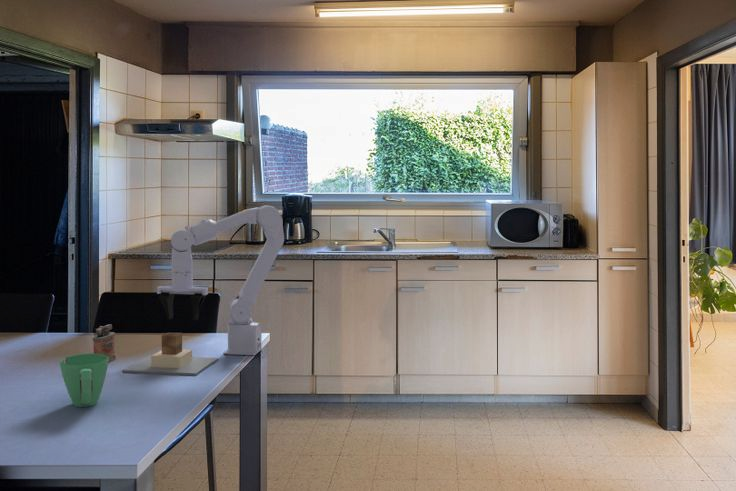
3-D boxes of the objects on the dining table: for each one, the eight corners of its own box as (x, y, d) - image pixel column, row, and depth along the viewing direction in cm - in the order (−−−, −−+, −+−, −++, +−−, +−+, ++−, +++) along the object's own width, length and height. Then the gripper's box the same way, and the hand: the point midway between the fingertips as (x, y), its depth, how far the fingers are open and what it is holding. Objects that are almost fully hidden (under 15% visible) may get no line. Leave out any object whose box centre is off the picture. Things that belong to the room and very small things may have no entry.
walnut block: (182, 351, 180) (182, 333, 180) (176, 354, 176) (175, 336, 176) (168, 350, 181) (167, 332, 180) (161, 354, 177) (161, 335, 176)
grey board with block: (218, 360, 185) (218, 347, 185) (196, 375, 169) (195, 361, 169) (150, 357, 188) (150, 344, 188) (122, 372, 172) (122, 358, 172)
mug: (60, 399, 149) (59, 356, 148) (107, 394, 153) (106, 351, 152) (62, 420, 136) (60, 372, 135) (113, 413, 140) (112, 367, 139)
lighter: (101, 366, 178) (100, 329, 177) (90, 365, 179) (89, 328, 178) (118, 358, 186) (117, 323, 185) (107, 358, 187) (106, 322, 186)
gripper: (151, 273, 186) (152, 320, 187) (201, 274, 184) (201, 322, 185) (162, 270, 193) (163, 316, 194) (210, 271, 191) (211, 317, 192)
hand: (182, 319), depth 190 cm, fingers open, 7 cm apart
